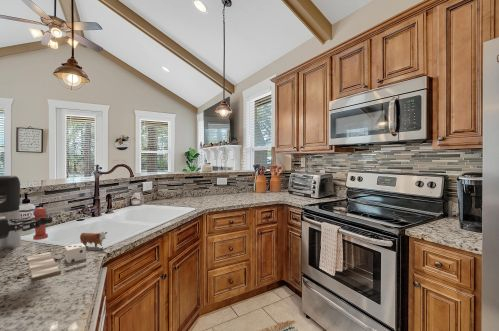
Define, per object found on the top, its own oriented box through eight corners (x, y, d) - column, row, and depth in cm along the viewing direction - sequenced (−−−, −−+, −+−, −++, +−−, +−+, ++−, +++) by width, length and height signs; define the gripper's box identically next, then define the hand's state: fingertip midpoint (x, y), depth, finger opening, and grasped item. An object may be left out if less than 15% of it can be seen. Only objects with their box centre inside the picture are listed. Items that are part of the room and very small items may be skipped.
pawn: (32, 238, 94) (31, 207, 94) (47, 235, 97) (46, 205, 97) (33, 240, 91) (32, 209, 91) (48, 238, 94) (47, 207, 94)
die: (65, 261, 101) (64, 246, 101) (82, 256, 105) (82, 242, 105) (68, 265, 97) (67, 250, 97) (86, 261, 101) (85, 246, 101)
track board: (25, 259, 103) (25, 256, 103) (50, 254, 109) (50, 251, 108) (31, 281, 85) (31, 277, 85) (60, 273, 91) (60, 270, 91)
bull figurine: (103, 251, 111) (103, 233, 111) (77, 249, 114) (77, 231, 113) (110, 248, 115) (110, 230, 115) (86, 246, 118) (85, 228, 118)
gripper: (-7, 221, 78) (58, 211, 93) (-22, 216, 85) (41, 207, 100) (-6, 245, 78) (58, 231, 93) (-21, 238, 85) (41, 226, 100)
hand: (49, 219), depth 97 cm, fingers closed on pawn, 3 cm apart
